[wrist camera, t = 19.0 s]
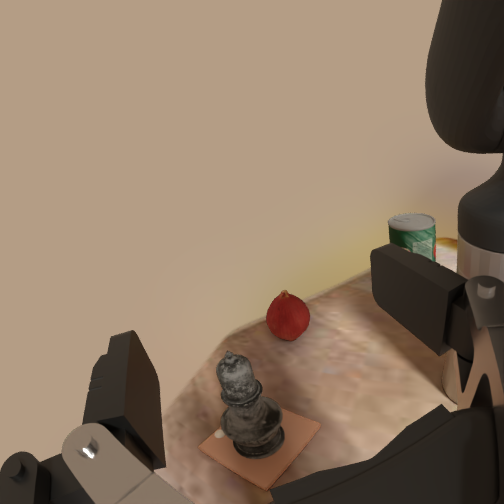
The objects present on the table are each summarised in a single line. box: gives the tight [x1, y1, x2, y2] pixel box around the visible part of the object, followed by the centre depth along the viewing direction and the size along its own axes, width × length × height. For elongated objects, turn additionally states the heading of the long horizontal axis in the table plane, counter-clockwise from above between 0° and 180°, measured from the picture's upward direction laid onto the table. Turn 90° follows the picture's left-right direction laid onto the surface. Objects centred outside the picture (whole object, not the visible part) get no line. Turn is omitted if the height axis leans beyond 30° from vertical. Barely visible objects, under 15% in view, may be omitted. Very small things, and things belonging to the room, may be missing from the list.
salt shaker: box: [216, 351, 285, 459], centre depth 26 cm, size 6×6×12 cm
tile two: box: [198, 408, 321, 491], centre depth 28 cm, size 9×9×1 cm
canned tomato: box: [388, 213, 436, 262], centre depth 47 cm, size 8×8×11 cm
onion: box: [266, 290, 310, 341], centre depth 42 cm, size 6×6×8 cm
